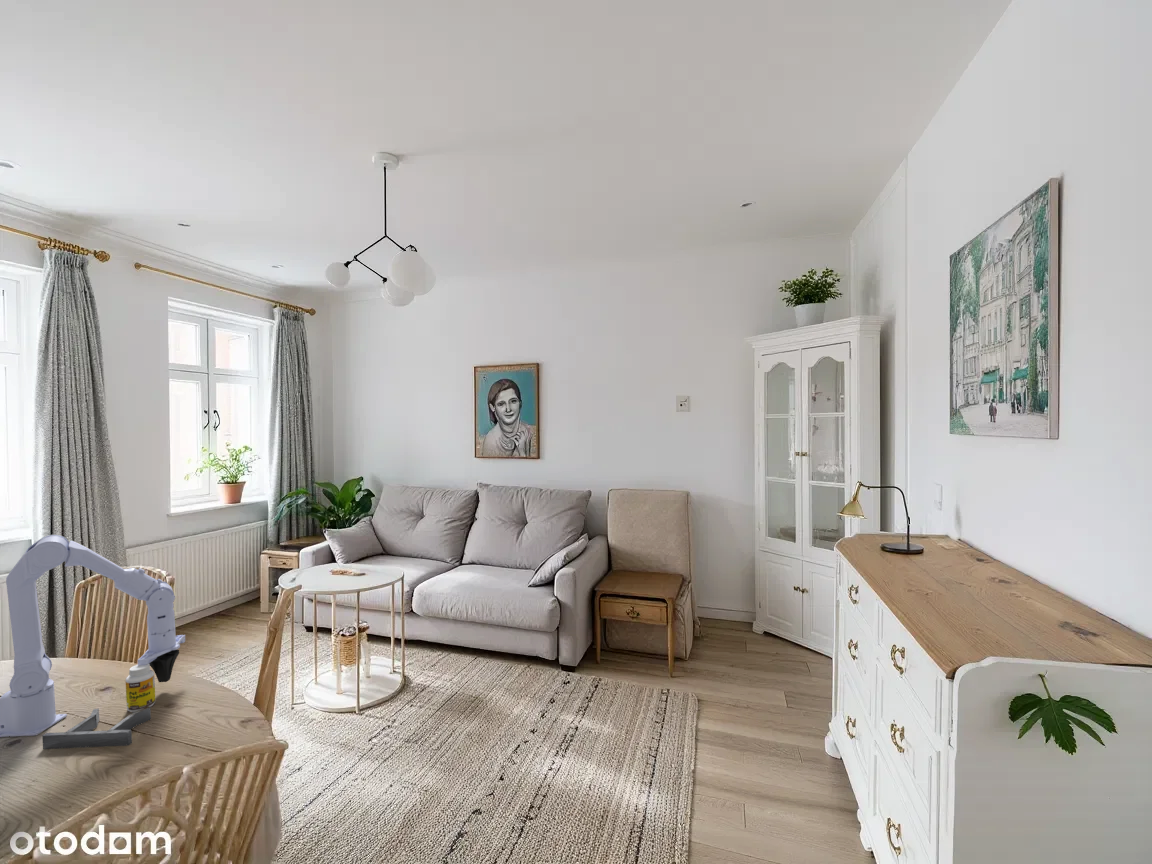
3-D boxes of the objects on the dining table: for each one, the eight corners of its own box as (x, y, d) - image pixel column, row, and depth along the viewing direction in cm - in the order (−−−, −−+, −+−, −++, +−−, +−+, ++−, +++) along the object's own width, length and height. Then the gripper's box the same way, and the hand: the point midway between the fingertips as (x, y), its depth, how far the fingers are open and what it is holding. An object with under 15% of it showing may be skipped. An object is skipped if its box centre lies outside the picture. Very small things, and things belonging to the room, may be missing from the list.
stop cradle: (43, 749, 117) (42, 735, 117) (84, 721, 128) (84, 708, 128) (128, 745, 118) (127, 732, 118) (163, 717, 129) (162, 705, 128)
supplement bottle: (125, 715, 130) (123, 674, 129) (128, 705, 134) (126, 665, 134) (154, 708, 133) (152, 667, 132) (156, 698, 138) (154, 659, 137)
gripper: (157, 641, 134) (160, 694, 134) (195, 618, 148) (198, 667, 149) (127, 642, 134) (130, 696, 134) (169, 619, 148) (171, 667, 149)
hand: (164, 680), depth 142 cm, fingers closed
